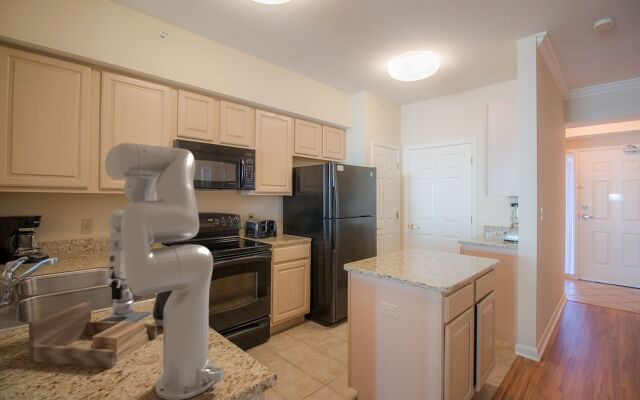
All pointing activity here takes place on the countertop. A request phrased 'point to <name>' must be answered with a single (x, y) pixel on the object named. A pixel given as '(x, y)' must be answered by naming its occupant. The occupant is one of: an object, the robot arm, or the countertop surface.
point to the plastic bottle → (123, 300)
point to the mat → (127, 317)
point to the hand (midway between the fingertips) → (123, 295)
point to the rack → (72, 338)
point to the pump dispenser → (160, 307)
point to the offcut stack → (122, 338)
